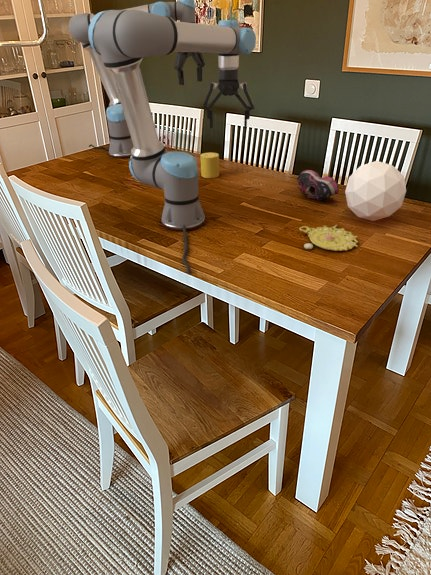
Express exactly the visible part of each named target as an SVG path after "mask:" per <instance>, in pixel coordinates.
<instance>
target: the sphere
mask: <svg viewBox="0 0 431 575" xmlns="http://www.w3.org/2000/svg"><path fill="white" fill-rule="evenodd" d="M347 180H348V181H347V184H346V187H345V191H344V193H345V200H346V205H347V208H349V209H350V210H351V212H353V213H354V214H355V216H356V217H358V218H360V219H364V220H368V221H371V222H375V221H379V220H382V219H385V218H388V217H390V216H392V215H393V214H394V213H395V212H396V211H398V210H399V209H400V208H402V206H403V203H404V200H405V196H406V193H407V187H406V182H405V176H404V174H403V173H402V172H401V171H399V170H398V169H397V168H396V167H395V166H394V165H393V164H390V163H386V162H382V161H378V160H375V161H372V162H367V163H365V164H362V165H359V166H358V167H357V169H355V171H354V172H352V174H351V175H349V177H348V179H347Z"/></svg>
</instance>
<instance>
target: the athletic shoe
mask: <svg viewBox="0 0 431 575" xmlns="http://www.w3.org/2000/svg"><path fill="white" fill-rule="evenodd" d="M296 181H297V184H298V187H297V186H296V187H294V189H296V190H299V191H302V194H303V195H304V196H306V197H307V198H308V199H311V200H318V201H322V200H324V199H327V198H330V197H333V196H335V195H336V196H337V195H338V194H339V193H340V190H339V189H340V188H339V185H338V183H337V180H336V179H335V178H334V177H331V176H324V177H321V176H320V173H318V172H317V171H316V170H313V169H305V170H303V171H301V173H299V174H298V175H297V177H296Z"/></svg>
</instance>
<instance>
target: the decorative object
mask: <svg viewBox="0 0 431 575" xmlns="http://www.w3.org/2000/svg"><path fill="white" fill-rule="evenodd" d="M303 228H304V229H305V230H304V229H303ZM299 231H300V232H303V233H305V234H307V237H308V238H309V240H310V241H311V243H304V244H303V248H304V249H305V250H313V249H314V245H315V246H316V247H318V248H321V249H324V250H328V251H335V252H341V251H348V250H352V249H354V247H356V248H358V247H359V245H358V244H357V243H359V240H357V238H359V237H358V235H353V234H352V231H347V230H346V229H345V228H344V227H342V228H338V224H335V225H333V226H331V227H328V226H327V225H326V224H325V225H323V226H322V227H321V226H317V227H316V228H314V227H309V226H308V225H302V226H300V227H299ZM313 244H314V245H313Z"/></svg>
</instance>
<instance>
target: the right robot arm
mask: <svg viewBox="0 0 431 575" xmlns="http://www.w3.org/2000/svg"><path fill="white" fill-rule="evenodd" d="M94 15H95V16H94V17H93V19H92V20H91V23H90V25H89V30H88V36H89V41H90V44H91V46H92V48H93V50H94V51H95V52H97V53H98V54H99V55H101V56H102V59H103V62H104V66H105V68H106V69H108V70H110V71H111V72H112V75H113V78H114V81H115V85H116V88H117V92H118V95H119V98H120V102H121V105H122V108H123V112H124V115H125V119H126V122H127V125H128V129H129V132H130V135H131V139H132V142H133V146H134V147H133V148H132V150H131V154H132V155H131V157H129V159H130V160H129V161H128V168H129V172H130V174H131V176H132V177H133V179H135V180H136V181H137V182H140V183H141V184H143V185H145V186H150V187H152V188H157V189H159V190H163V194H164V204H163V209H162V213H161V219H160V220H161V225H162V227H163V228H165V229H167V230H170V231H175V232H176V231H177V232H183V242H184V251H183V255H182V263H183V264H184V266H185V267H186V270H187V274H188V275H191V274H192V270H191V266H190V264H189V263H188V262H187V259H186V257H187V253H188V248H189V246H188V244H189V243H188V237H187V236H188V235H187V231H192V230H195V229H198V228H201V227H202V226H203V225H204V224H205V223H206V216H205V212H204V210H203V208H202V204H201V202H200V196H199V168H198V162H197V160H196V158H195V156H193V155H192V154H190V153H188V152H185V151H177V150H175V151H173V150H172V151H168V152H167V151H166V146H165V143H164V142H162V141H161V140H159V137H158V134H157V130H156V126H155V122H154V117H153V114H152V109H151V106H150V102H149V98H148V94H147V90H146V86H145V83H144V79H143V75H142V71H141V67H140V65H141V63H142V61H143V58H147V57H155V56H170V55H172V54H173V53H174V52H178V51H179V52H200V53H202V54H209V53H210V54H211V53H212V54H217V55H218V56H217V57H218V58H217V59H218V60H217V62H218V68H219V69H218V82H213V81H212V82H211V83H209V90H208V93H207V95H206V97H205V99H204V102H203V104H202V109H204V110H205V111H206V118H207V120H209V128H210V129H213V128H214V111H213V109H212V108H213V107H214V105H215V104H216V102H218V100H219V99H220V98H221V96H224V97H226V96H229V97H233V96H235V97H236V98H237V100H238V101H239V103H241V105H242V106H243V107H244V109H245V110H244V117H243V118H244V119H243V120H244V121H243V122H244V125H243V129H244V130H246V129H247V128H248V120H250V118H251V111H252V110H254V109H255V107H256V105H255V103H254V101H253V98H252V97H251V94H250V92H249V90H248V84H247V82H246V81H245V82H242V83H240V81H239V79H240V78H239V76H240V74H239V72H240V71H239V69H238V68H239V66H240V65H239V64H240V55H249V54H251V53H253V51H254V50H255V47H256V45H257V36H256V33H255V31H254V29H252V28H251V27H245V26H242V27H240V24H239V21H238V20H236V19H228V20H227V19H225V20H224V19H223V20H219V21H218V23H217V25H216V24H206V23H197V22H196V23H187V22H180V21H178V20H177V21H176V20H173V19H172V18H171V17H168V16H161V15H156V14H152V13H148V12H144V11H139V10H124V9H107V10H103V11H100V12H97V13H96V14H94ZM216 89H218V90H219V92H218V93H217V95H216V96H215V97H214V98H213V100H212V101H211V102H210V103H209V101H210V99H211V97H212V94H213V92H214V91H215V90H216ZM239 89H241V90H243V93H244V95H245V97H246V99H247V101H248V103H247V102H246V100H245V99H244V97H243V96H242V95H241V93H240V92H239ZM208 104H209V105H208Z"/></svg>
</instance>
